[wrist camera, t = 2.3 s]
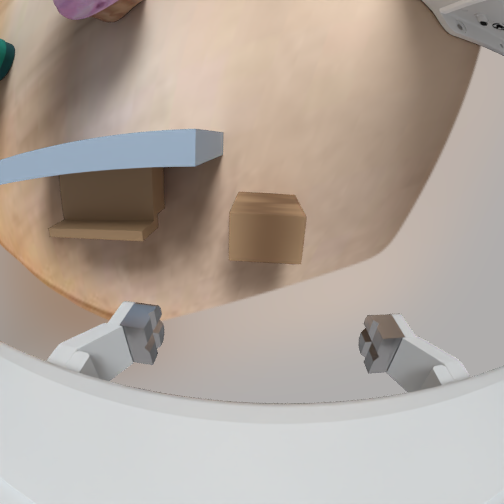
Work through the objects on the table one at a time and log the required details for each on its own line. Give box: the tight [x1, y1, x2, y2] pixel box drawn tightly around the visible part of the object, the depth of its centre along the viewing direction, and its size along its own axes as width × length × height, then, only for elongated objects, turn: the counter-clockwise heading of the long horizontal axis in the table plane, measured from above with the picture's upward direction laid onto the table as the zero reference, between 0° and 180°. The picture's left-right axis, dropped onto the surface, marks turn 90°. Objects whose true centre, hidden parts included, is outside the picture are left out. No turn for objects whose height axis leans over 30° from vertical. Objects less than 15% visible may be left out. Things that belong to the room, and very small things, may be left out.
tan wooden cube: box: [229, 192, 306, 264], centre depth 22 cm, size 5×4×7 cm
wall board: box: [0, 129, 223, 241], centre depth 19 cm, size 20×8×10 cm, turn 88°
